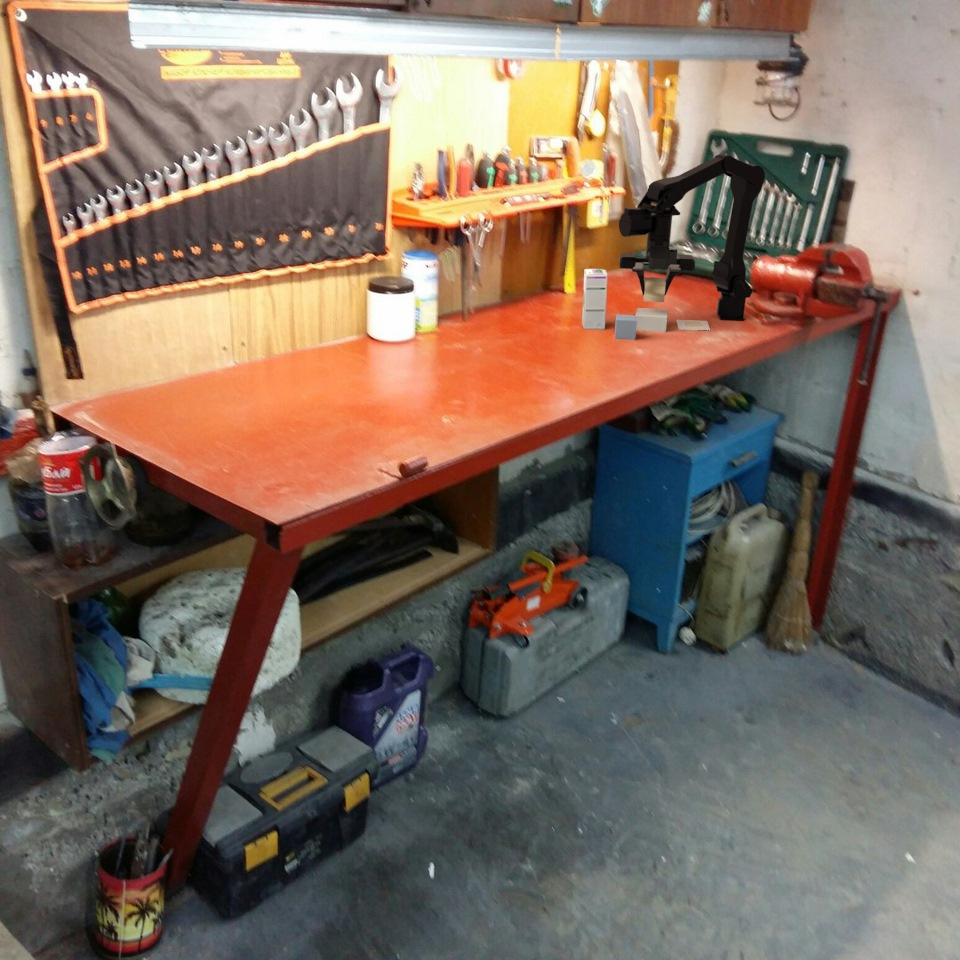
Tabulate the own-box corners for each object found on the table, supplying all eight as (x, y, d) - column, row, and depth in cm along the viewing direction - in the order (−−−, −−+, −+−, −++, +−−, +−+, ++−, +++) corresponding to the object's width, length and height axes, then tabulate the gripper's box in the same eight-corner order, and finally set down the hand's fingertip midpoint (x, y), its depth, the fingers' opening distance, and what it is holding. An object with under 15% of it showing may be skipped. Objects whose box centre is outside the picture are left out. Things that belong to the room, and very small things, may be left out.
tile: (706, 322, 260) (706, 320, 260) (710, 331, 253) (710, 328, 253) (676, 321, 261) (676, 318, 261) (678, 329, 254) (678, 327, 254)
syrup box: (605, 329, 253) (609, 273, 247) (582, 329, 253) (585, 273, 247) (603, 323, 258) (606, 268, 252) (580, 323, 258) (583, 268, 252)
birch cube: (662, 297, 255) (664, 278, 253) (663, 302, 251) (665, 282, 249) (643, 296, 256) (644, 277, 254) (644, 301, 251) (645, 282, 249)
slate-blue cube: (634, 334, 250) (636, 315, 248) (635, 340, 246) (636, 320, 243) (614, 333, 250) (616, 314, 248) (615, 339, 246) (616, 320, 244)
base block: (666, 324, 259) (668, 309, 258) (665, 333, 252) (666, 317, 250) (636, 322, 261) (637, 307, 259) (634, 330, 254) (635, 315, 252)
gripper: (622, 239, 240) (618, 302, 246) (700, 241, 238) (693, 304, 245) (621, 230, 250) (617, 291, 256) (695, 232, 248) (689, 293, 255)
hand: (653, 295), depth 253 cm, fingers closed on birch cube, 5 cm apart
